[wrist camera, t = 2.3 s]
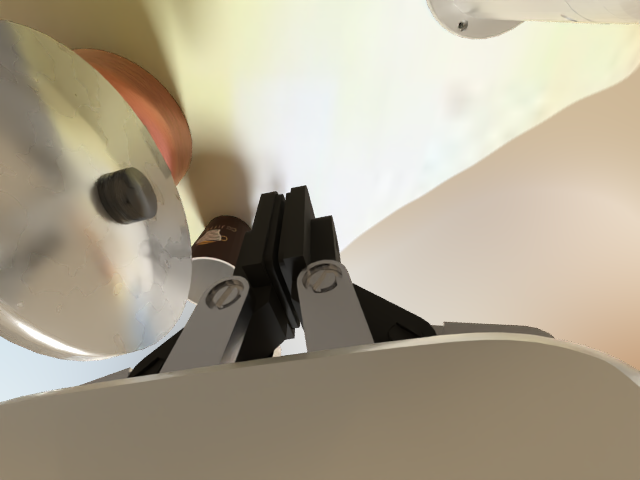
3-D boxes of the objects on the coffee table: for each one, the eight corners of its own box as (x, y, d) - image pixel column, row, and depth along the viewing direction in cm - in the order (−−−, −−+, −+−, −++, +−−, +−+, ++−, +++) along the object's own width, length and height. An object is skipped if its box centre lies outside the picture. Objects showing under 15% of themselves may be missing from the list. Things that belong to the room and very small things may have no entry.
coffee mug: (197, 250, 44) (172, 302, 37) (200, 202, 39) (172, 249, 32) (274, 265, 47) (266, 317, 39) (286, 222, 42) (280, 271, 34)
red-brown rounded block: (143, 29, 28) (68, 37, 19) (214, 181, 38) (185, 232, 29) (-2, 70, 30) (-132, 93, 21) (100, 204, 39) (40, 259, 31)
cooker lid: (66, 26, 19) (109, 15, 19) (191, 237, 29) (219, 229, 29) (-451, 29, 5) (-294, -12, 5) (128, 424, 15) (181, 410, 15)
